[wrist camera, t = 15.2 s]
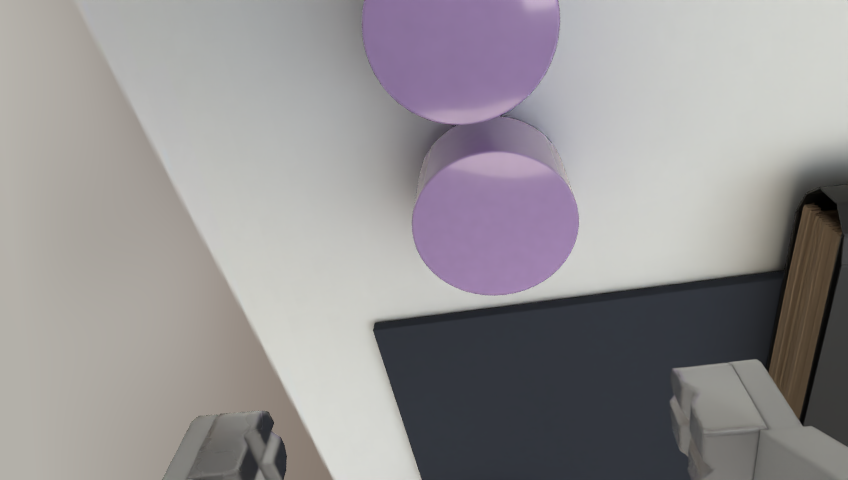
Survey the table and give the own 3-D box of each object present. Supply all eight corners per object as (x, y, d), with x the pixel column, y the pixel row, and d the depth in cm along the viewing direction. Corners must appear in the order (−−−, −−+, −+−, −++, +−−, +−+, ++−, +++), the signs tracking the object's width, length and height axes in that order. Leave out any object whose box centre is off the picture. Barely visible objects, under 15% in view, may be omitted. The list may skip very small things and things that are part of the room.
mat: (464, 600, 42) (464, 609, 42) (374, 322, 30) (372, 330, 29) (758, 587, 39) (762, 596, 39) (800, 267, 26) (807, 275, 26)
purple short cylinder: (435, 244, 27) (430, 305, 23) (406, 122, 24) (394, 167, 20) (567, 225, 26) (585, 284, 22) (554, 94, 23) (571, 136, 19)
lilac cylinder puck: (401, 98, 24) (387, 140, 20) (362, -66, 21) (337, -56, 17) (551, 69, 23) (569, 107, 19) (533, -107, 20) (549, -107, 16)
